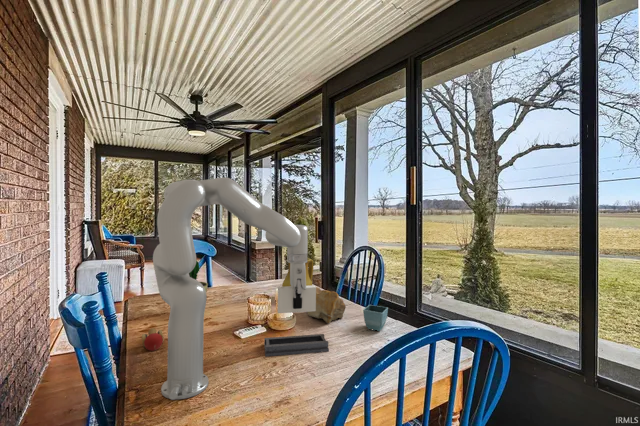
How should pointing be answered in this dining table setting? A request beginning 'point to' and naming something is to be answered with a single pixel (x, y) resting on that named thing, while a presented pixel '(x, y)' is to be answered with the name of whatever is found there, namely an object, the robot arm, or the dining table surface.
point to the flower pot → (375, 317)
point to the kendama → (152, 339)
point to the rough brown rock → (328, 306)
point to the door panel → (288, 294)
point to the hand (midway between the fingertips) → (296, 306)
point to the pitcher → (308, 274)
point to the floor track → (295, 345)
